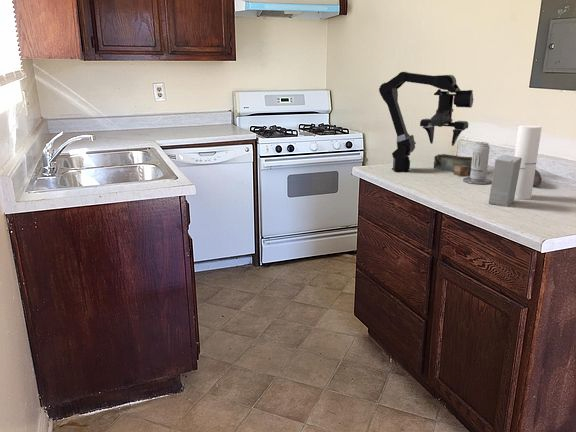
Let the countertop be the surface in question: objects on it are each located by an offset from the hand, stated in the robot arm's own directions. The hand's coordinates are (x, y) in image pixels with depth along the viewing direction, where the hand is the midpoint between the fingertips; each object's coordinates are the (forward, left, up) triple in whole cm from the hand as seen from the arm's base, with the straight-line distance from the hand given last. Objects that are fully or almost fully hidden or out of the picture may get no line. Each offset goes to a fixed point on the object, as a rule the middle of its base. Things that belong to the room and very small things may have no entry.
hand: (441, 144), depth 203 cm
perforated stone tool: (+29, -19, -13) cm, 37 cm away
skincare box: (+6, -44, -13) cm, 46 cm away
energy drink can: (+11, -13, -13) cm, 21 cm away
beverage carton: (+11, +9, -14) cm, 20 cm away
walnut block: (+9, -1, -13) cm, 16 cm away
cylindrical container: (+16, -37, -13) cm, 42 cm away
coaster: (+11, -13, -13) cm, 21 cm away
